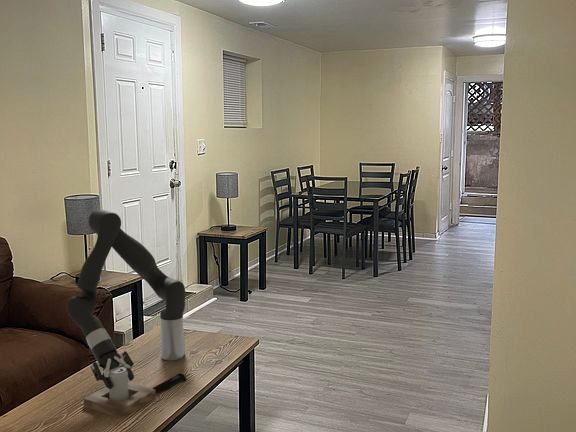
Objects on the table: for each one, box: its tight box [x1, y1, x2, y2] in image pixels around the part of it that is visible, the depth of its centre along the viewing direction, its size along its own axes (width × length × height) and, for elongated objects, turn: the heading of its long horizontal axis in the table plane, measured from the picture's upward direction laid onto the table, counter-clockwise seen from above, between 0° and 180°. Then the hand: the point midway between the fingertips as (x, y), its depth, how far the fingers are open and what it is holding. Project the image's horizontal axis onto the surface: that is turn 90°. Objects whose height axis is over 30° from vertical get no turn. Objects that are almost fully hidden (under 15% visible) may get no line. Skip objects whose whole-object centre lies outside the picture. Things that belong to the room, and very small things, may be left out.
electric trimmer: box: [152, 373, 187, 393], centre depth 213 cm, size 4×16×3 cm, turn 147°
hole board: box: [82, 381, 156, 419], centre depth 200 cm, size 17×17×3 cm
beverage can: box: [107, 367, 129, 402], centre depth 199 cm, size 6×6×12 cm
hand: (122, 383), depth 199 cm, fingers open, 8 cm apart
